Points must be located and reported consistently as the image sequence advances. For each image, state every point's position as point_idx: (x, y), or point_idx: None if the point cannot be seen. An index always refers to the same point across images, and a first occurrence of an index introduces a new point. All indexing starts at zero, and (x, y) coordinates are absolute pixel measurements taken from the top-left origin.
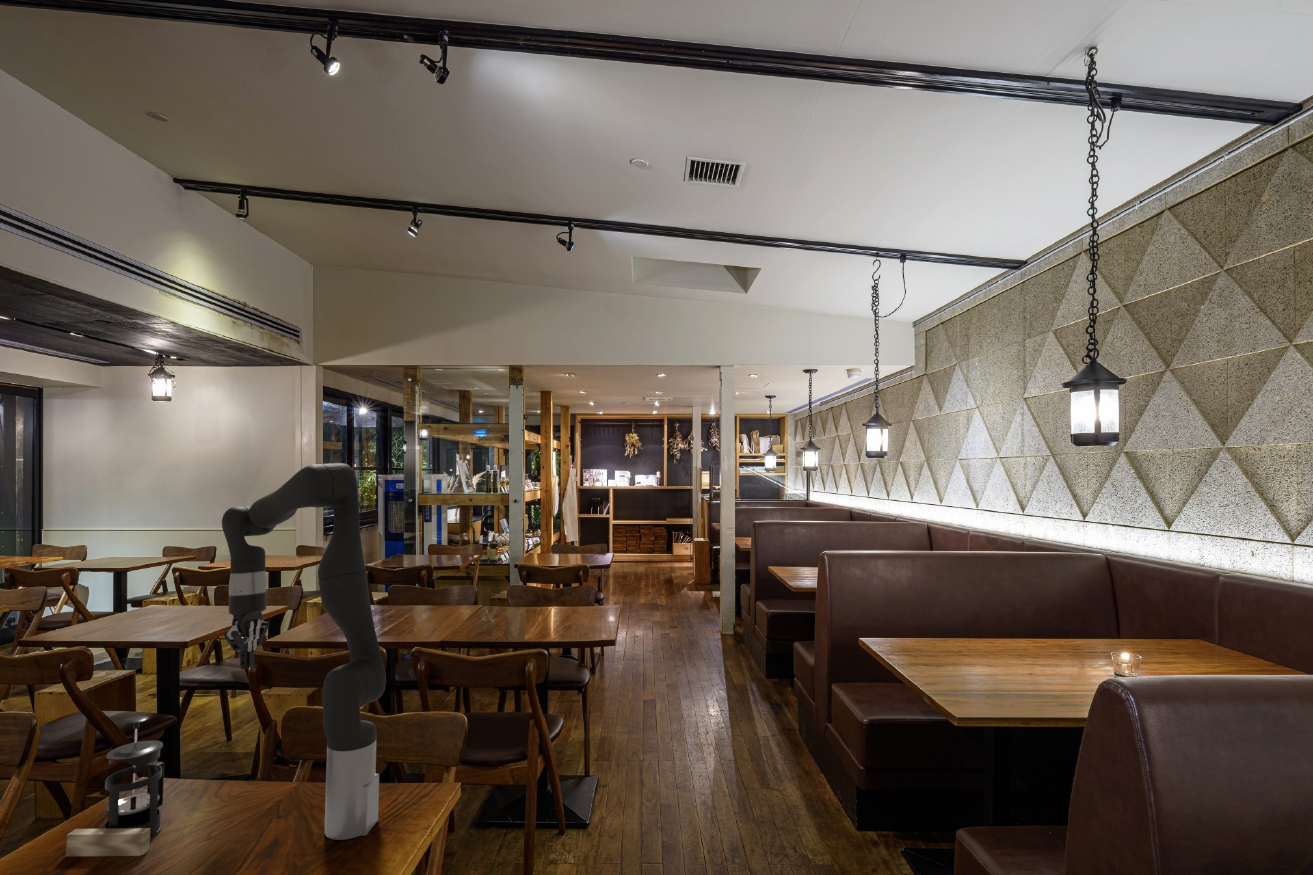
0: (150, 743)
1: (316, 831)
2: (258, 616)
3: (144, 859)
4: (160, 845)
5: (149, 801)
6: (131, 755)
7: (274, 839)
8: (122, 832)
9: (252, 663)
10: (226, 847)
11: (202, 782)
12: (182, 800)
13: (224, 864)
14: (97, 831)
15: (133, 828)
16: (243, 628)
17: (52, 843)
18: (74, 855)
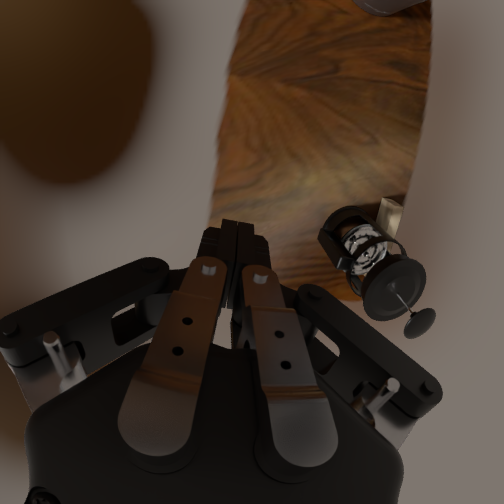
0: (388, 283)
1: (376, 24)
2: (98, 476)
3: (398, 192)
4: (376, 189)
5: (357, 235)
6: (418, 282)
7: (388, 65)
8: (393, 231)
9: (232, 224)
10: (396, 114)
11: (208, 224)
12: (264, 222)
13: (424, 107)
14: None
15: (388, 224)
16: (357, 418)
17: (339, 298)
18: None
